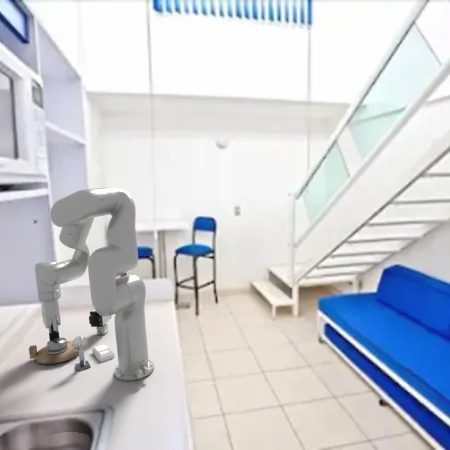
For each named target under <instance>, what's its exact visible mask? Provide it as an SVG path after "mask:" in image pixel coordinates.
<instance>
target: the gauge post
mask: <svg viewBox="0 0 450 450" xmlns="http://www.w3.org/2000/svg"><path fill="white" fill-rule="evenodd" d="M72 341H73V346H74V348H75V349H77V350H78V351H79V354H78V357H79V362H78V363H75V364H74V366H75V369H76V370H77V372H80V371H84V370H86V369H89V368H91V364H90V363H89V361H88V360H85V352H84V351H85V350H84V349H85V348H86V347H87V345H88V339H87V338H86V337H85V336H84V335H78V336H77V337H75V338H74V339H73V340H72Z"/></svg>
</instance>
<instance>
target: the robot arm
mask: <svg viewBox="0 0 450 450" xmlns="http://www.w3.org/2000/svg"><path fill="white" fill-rule="evenodd" d="M49 213H50V215H49V216H50V220H51V223H53V225H54V226H56V227H58V228H61V230H60V233H59V237H58V239H59V241H60V243H61V244H62V245H63V246H66V247H67V248H69V249H72V250H74V252H73V255H72V257H71V259H67V260H63V261H60V262H57V261H56V262H41V261H39V263H38V262H37V263H36V264H35V265H34V274H35V280H36V281H35V282H36V289H37V298H38V302H41V314H42V323H43V325H44V327H45V328H46V329H48V336H49V339H48V340H49V341H50V340H52V339H55V338H61V337H60V331H59V327H60V326H61V312H60V302H59V300H60V299H61V298H62V293H61V292H62V291H61V285H63V284H66V283H68V282H71V281H75V280H79V278H82V277H83V275H84V274H85V273H86V271H87V272H88V281H89V290H90V292H89V293H90V299H91V303H92V306H93V307H92V308H94V309H95V311H96V312H97V313H98V314H99V315H101V316H111V317H112V316H113V315H114V332H115V341H116V343H115V344H116V353H117V362H118V364H117V365H116V366H115V368H114V371H113V372H114V377H115V378H116V379H118V380H120V381H125V382H126V381H128V382H130V381H131V382H132V381H137V379H138V380H141V379H143V377H144V378H145V376H146V377H148V376H149V375H150V374H151V373H152V372H153V371H154V369H155V364H154V361H152V360H151V359H149V352H148V340H147V339H148V338H147V328H146V314H145V313H146V312H145V310H146V309H145V308H146V307H145V305H146V297H147V296H146V295H147V289H146V284H145V282H144V280H143V279H142V278H141V277H140V276H138V275H135V274H126V273H129V272H133V270H135V269H136V268H137V266H138V265H139V264H138V263H139V253H138V251H139V250H138V243H137V242H138V241H137V239H138V238H137V231H136V217H137V216H136V214H137V213H136V204H135V201H134V199H133V197H132V195H131V194H130V193H129V192H128V191H126V190H124V189H123V188H119V187H112V186H111V187H99V188H86V189H81V190H77V191H75V192H74V193H70V194H69V195H67V196H65V197H63V198H60V199H58V200H56V201H55V202H54V203H53V204H52V206H51V209H50V212H49ZM104 216H111V218H110V220H109V222H108V225H107V233H106V234H107V246H104V247H99V248H97V249H95V250H94V251H93V252H92V253H90V249H89V247H88V245H87V239H88V236H89V234H90V230H91V228H92V224H93V222H94V220H95V218H96V217H104ZM90 254H91V255H90ZM125 274H126V275H125ZM121 275H123V276H121ZM117 277H118V278H117Z"/></svg>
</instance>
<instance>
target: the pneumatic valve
mask: <svg viewBox="0 0 450 450" xmlns="http://www.w3.org/2000/svg"><path fill="white" fill-rule="evenodd" d="M111 319H112V315H111V316H101V315H99V314H98V313H97V312H96V311H95V309H94V307H92V309H91V310H90V311H89V316H88V321H89V323H88V324H89V325H90V327H91V328H93V327H94V328H96V335H98V336H99V335H103V336H105V335H106V334H108V332H109V329H108V322H109V321H110V320H111Z"/></svg>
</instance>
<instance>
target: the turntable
mask: <svg viewBox="0 0 450 450" xmlns="http://www.w3.org/2000/svg"><path fill="white" fill-rule="evenodd" d="M66 341H67V345H68V350H67V351H65V352H63V353H61V354H57V355H49V354H48V353H47V350H48V348H47V345H46V346H43V347H42V348H41V349H39V350H38V349H37V348H38V347H37V344H34V345H29V348H28V353H29V360H34V359H35V361H36V362H37V363H39V364H42V365H45V364H46V365H49V364H50V365H51V364H58V363H62V362H66V361H68V360H71V359H73V358H75V357H77V355H79V351H78V350H77V349H75V348H74V346H73V341H74V340H66Z"/></svg>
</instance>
